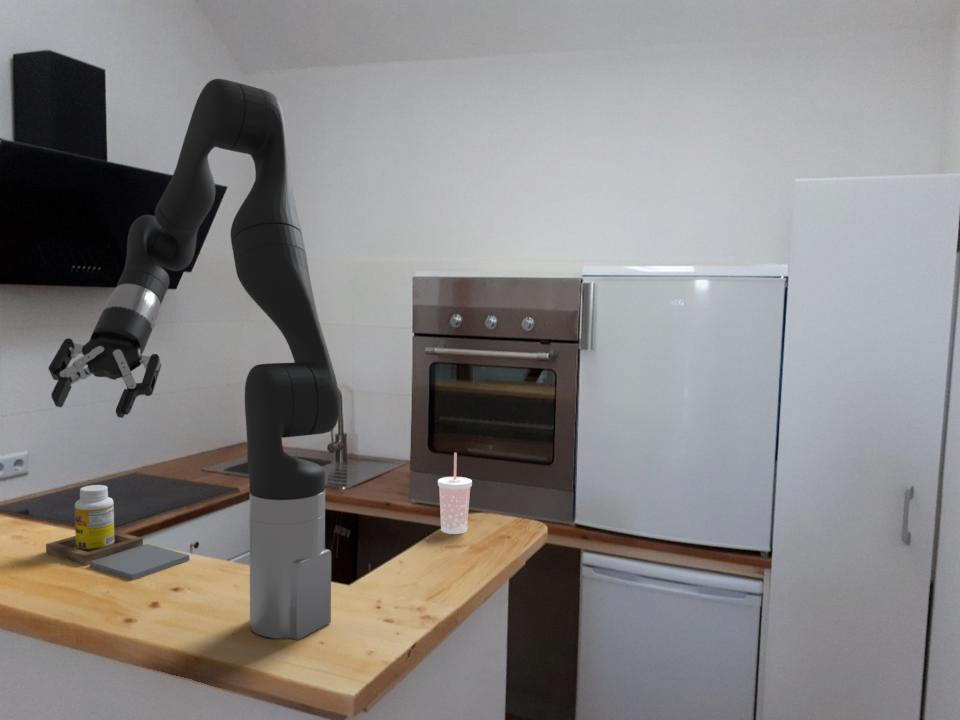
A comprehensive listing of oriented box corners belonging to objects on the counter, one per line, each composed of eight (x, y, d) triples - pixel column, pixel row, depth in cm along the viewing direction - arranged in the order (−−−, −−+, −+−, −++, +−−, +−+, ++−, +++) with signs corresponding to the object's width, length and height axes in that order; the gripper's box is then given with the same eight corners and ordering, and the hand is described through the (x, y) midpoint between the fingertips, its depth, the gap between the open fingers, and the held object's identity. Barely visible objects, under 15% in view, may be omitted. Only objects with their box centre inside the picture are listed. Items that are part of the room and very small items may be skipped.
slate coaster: (189, 560, 122) (189, 555, 122) (132, 580, 113) (132, 574, 113) (147, 548, 127) (147, 543, 127) (89, 566, 118) (89, 561, 118)
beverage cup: (452, 522, 145) (453, 447, 143) (478, 529, 141) (479, 452, 140) (429, 530, 140) (430, 452, 139) (456, 537, 136) (457, 457, 135)
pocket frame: (143, 547, 127) (142, 538, 127) (85, 565, 119) (85, 555, 119) (104, 536, 132) (103, 528, 132) (46, 553, 124) (46, 544, 124)
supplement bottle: (74, 548, 127) (72, 485, 126) (112, 543, 129) (111, 481, 129) (77, 558, 122) (75, 493, 121) (116, 552, 125) (115, 489, 124)
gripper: (74, 296, 117) (29, 386, 108) (172, 314, 119) (135, 404, 109) (85, 326, 123) (43, 414, 114) (177, 343, 125) (143, 431, 115)
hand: (88, 409), depth 112 cm, fingers open, 8 cm apart
